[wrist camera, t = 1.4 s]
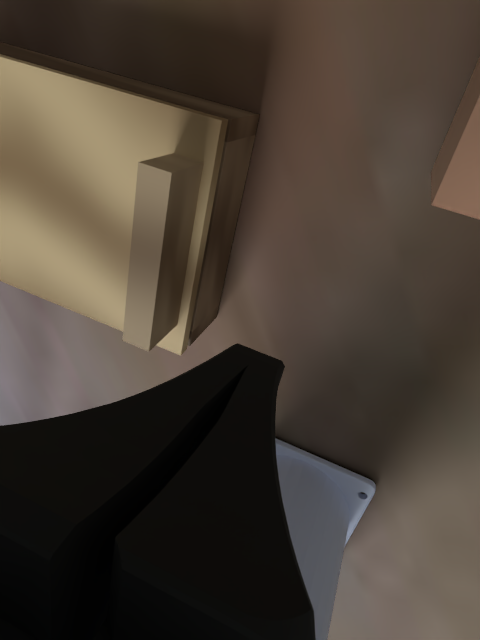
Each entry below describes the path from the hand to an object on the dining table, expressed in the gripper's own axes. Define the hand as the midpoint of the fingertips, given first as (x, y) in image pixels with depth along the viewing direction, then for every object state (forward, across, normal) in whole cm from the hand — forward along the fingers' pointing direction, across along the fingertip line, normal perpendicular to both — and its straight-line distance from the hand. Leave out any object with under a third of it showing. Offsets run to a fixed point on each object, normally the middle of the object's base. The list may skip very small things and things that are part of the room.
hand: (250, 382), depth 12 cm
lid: (+7, +12, 0) cm, 13 cm away
